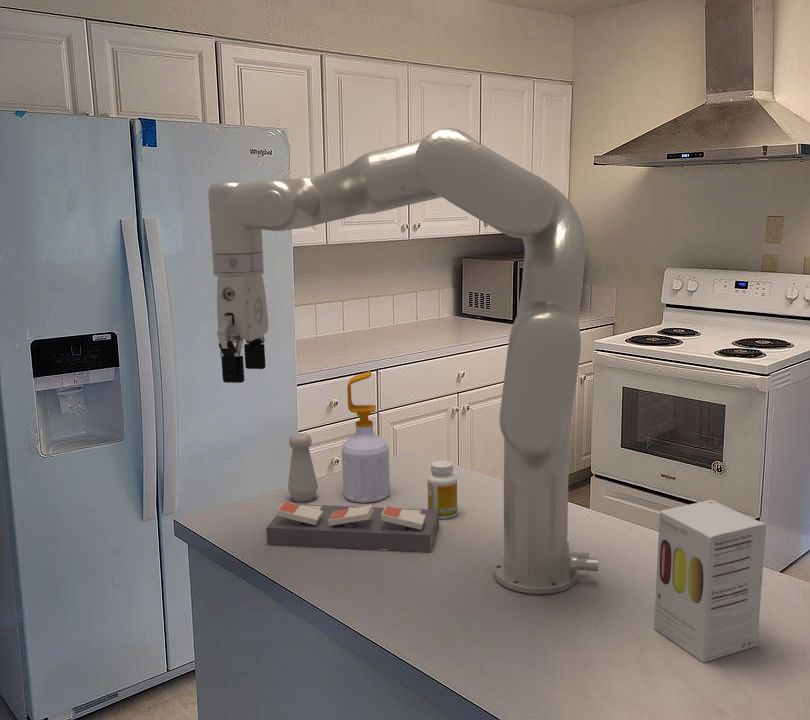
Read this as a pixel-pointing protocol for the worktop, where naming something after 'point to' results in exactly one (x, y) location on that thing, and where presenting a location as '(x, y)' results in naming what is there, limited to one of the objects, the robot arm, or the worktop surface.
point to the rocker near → (403, 517)
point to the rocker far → (299, 513)
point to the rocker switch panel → (355, 531)
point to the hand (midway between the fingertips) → (245, 375)
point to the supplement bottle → (442, 489)
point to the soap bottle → (364, 456)
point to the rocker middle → (350, 515)
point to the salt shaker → (301, 469)
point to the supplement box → (709, 579)
